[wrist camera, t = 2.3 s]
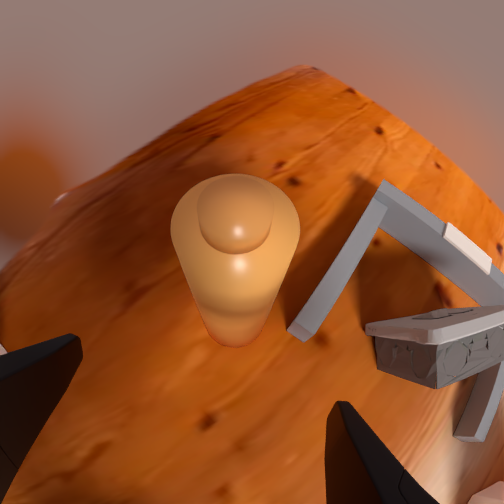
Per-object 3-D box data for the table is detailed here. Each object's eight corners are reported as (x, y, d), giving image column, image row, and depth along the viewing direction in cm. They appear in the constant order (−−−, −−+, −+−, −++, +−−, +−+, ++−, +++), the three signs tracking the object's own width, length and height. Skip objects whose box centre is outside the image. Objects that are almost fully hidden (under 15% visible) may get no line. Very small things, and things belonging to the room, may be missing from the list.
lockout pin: (270, 340, 21) (325, 254, 8) (210, 352, 20) (173, 284, 8) (256, 285, 23) (282, 148, 10) (199, 296, 22) (161, 166, 10)
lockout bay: (462, 441, 17) (493, 442, 13) (286, 330, 21) (298, 315, 17) (504, 311, 23) (530, 297, 19) (368, 204, 27) (385, 176, 23)
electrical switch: (445, 309, 23) (516, 280, 14) (452, 363, 21) (527, 351, 12) (359, 324, 22) (427, 297, 13) (366, 388, 20) (438, 394, 11)
